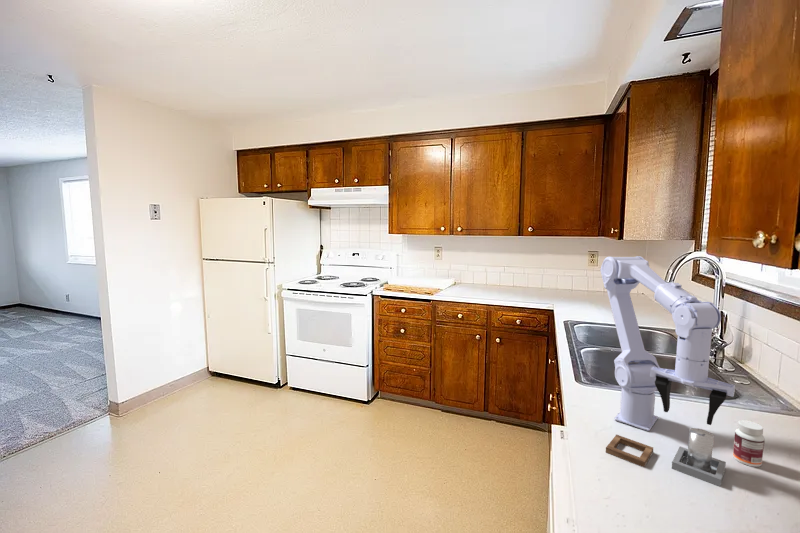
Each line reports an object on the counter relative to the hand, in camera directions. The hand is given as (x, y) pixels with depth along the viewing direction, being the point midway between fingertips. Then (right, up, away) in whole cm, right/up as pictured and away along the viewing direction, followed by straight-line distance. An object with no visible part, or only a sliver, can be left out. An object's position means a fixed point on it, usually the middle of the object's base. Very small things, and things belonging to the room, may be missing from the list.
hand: (687, 416), depth 84 cm
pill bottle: (+13, -10, 0) cm, 16 cm away
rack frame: (0, -10, -3) cm, 10 cm away
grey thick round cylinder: (0, -10, -3) cm, 10 cm away
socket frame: (-11, -9, +3) cm, 15 cm away
